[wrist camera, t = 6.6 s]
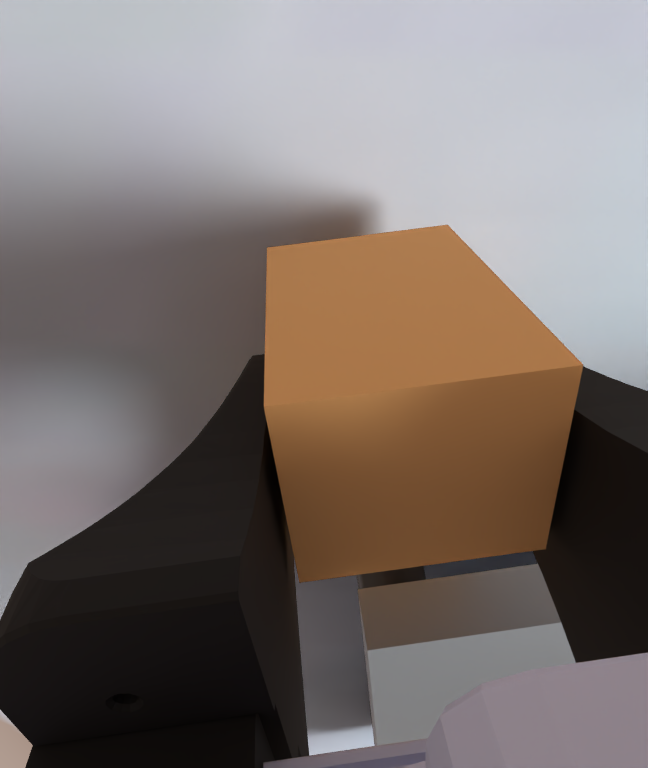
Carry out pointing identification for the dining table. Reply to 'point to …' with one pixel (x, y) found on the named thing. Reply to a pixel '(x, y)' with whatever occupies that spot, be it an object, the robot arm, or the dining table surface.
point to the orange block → (409, 404)
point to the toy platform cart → (450, 640)
